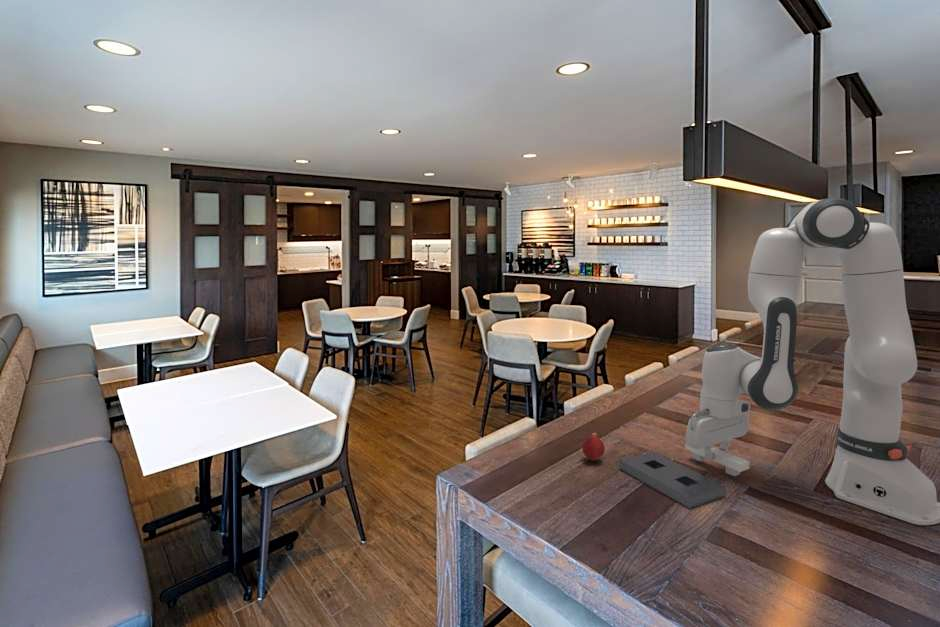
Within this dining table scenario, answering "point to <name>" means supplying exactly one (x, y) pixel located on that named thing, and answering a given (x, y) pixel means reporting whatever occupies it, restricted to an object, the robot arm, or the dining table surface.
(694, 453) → the strip
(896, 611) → the dining table surface
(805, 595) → the dining table surface
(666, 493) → the plate
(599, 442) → the onion
